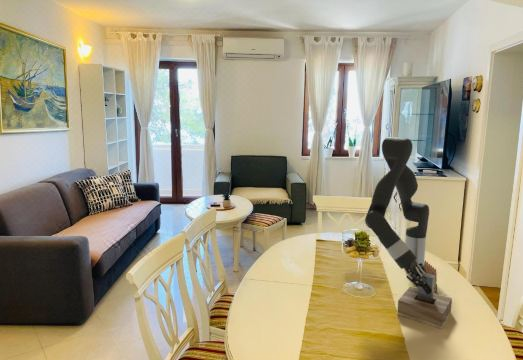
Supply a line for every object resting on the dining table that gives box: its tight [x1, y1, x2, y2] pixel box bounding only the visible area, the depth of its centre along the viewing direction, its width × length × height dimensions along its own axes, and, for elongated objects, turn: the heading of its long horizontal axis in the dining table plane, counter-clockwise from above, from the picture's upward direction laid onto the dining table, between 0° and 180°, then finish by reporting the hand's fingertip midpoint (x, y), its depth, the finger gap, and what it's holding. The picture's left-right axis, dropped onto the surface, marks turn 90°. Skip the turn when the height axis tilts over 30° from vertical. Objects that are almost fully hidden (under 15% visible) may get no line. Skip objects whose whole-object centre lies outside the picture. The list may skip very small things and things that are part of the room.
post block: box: [396, 286, 453, 329], centre depth 148 cm, size 14×16×6 cm
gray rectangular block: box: [417, 272, 435, 303], centre depth 146 cm, size 3×5×10 cm, turn 52°
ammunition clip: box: [424, 259, 438, 294], centre depth 166 cm, size 11×2×12 cm, turn 3°
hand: (431, 291), depth 145 cm, fingers closed on gray rectangular block, 3 cm apart
